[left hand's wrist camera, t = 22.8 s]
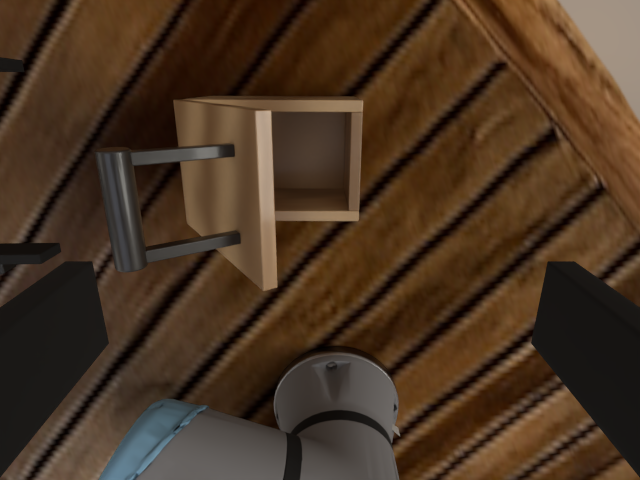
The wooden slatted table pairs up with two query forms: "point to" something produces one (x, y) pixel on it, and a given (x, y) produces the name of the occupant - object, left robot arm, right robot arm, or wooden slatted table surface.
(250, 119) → the lid
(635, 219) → the wooden slatted table surface
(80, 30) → the wooden slatted table surface
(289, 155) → the chest
